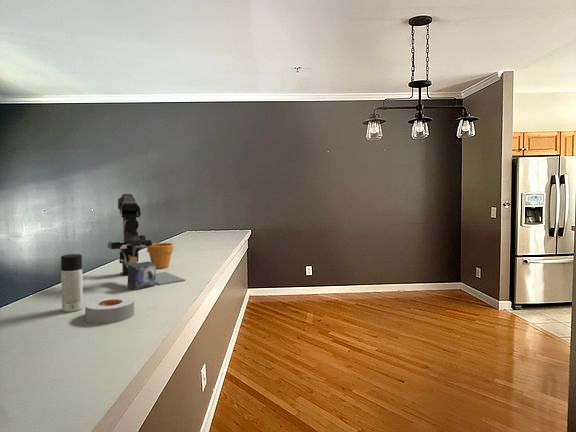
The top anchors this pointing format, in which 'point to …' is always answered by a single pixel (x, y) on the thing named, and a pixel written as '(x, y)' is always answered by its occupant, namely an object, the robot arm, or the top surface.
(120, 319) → the tape roll
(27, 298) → the top surface
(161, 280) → the mat
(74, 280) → the spray can
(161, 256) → the flower pot
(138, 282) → the small box
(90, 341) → the top surface
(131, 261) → the turner
